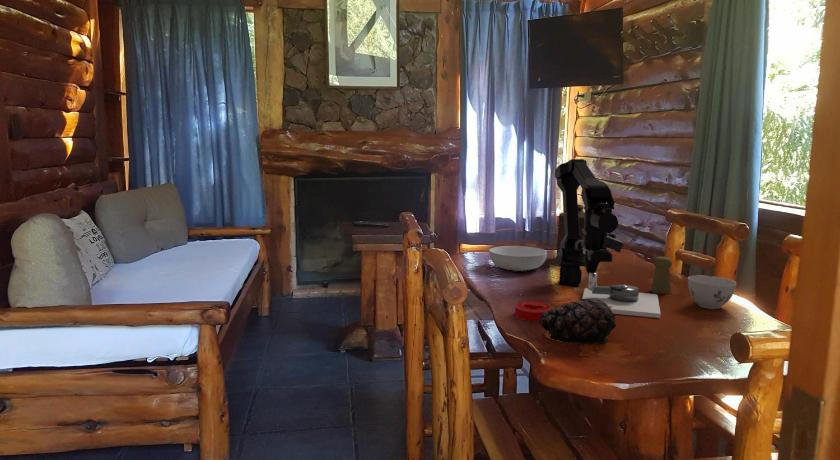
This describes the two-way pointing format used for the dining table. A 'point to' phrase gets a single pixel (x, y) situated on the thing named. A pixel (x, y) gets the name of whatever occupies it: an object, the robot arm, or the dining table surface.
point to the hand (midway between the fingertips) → (591, 278)
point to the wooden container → (561, 225)
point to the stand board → (630, 304)
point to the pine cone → (580, 322)
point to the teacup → (711, 290)
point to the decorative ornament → (531, 310)
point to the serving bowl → (517, 257)
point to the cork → (662, 276)
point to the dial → (613, 290)
